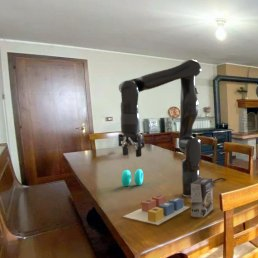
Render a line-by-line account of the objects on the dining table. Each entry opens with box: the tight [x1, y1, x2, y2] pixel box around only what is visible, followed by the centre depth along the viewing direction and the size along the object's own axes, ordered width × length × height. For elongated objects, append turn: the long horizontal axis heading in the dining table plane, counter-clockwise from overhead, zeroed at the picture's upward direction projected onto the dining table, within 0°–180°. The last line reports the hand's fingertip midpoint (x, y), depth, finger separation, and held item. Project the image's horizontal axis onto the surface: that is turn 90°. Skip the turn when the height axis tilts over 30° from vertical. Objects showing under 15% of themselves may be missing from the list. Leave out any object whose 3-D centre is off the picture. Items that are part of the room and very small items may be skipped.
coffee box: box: [190, 177, 214, 218], centre depth 115 cm, size 9×6×16 cm
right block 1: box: [159, 201, 174, 216], centre depth 114 cm, size 4×4×4 cm
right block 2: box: [168, 197, 184, 211], centre depth 120 cm, size 4×4×4 cm
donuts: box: [121, 168, 144, 187], centre depth 152 cm, size 10×10×10 cm
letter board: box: [122, 205, 190, 226], centre depth 116 cm, size 19×21×1 cm
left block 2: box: [151, 194, 167, 207], centre depth 123 cm, size 4×4×4 cm
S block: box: [148, 207, 164, 222], centre depth 108 cm, size 4×4×4 cm
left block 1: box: [140, 198, 156, 212], centre depth 118 cm, size 4×4×4 cm
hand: (132, 155), depth 119 cm, fingers open, 8 cm apart
